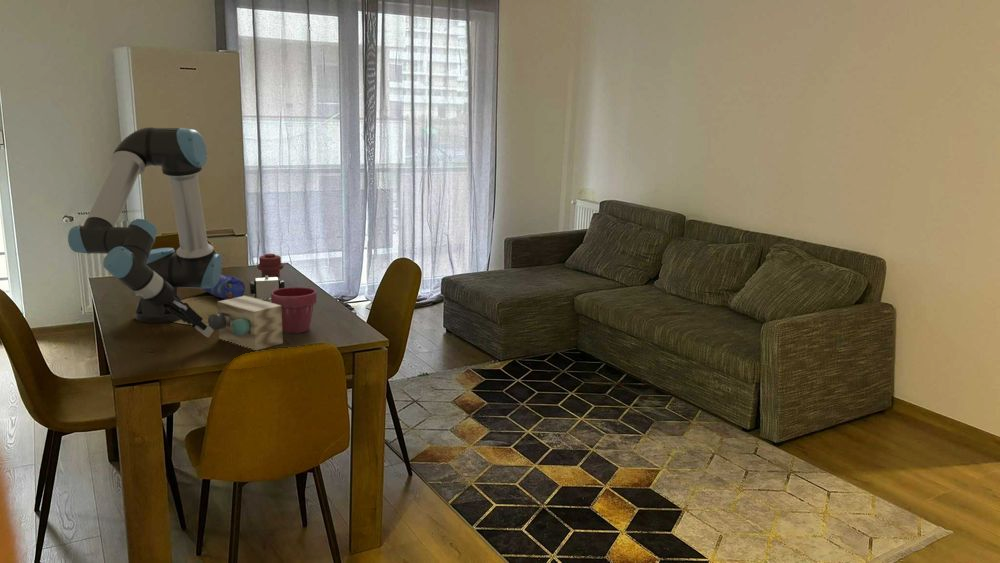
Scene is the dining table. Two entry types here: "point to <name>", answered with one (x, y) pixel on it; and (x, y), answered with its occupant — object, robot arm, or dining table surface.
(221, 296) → the pencil case
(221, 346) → the dining table surface
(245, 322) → the knob teal
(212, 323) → the knob charcoal
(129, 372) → the dining table surface
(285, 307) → the plant pot
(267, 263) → the mechanical component
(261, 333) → the block
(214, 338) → the dining table surface
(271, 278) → the pneumatic valve
